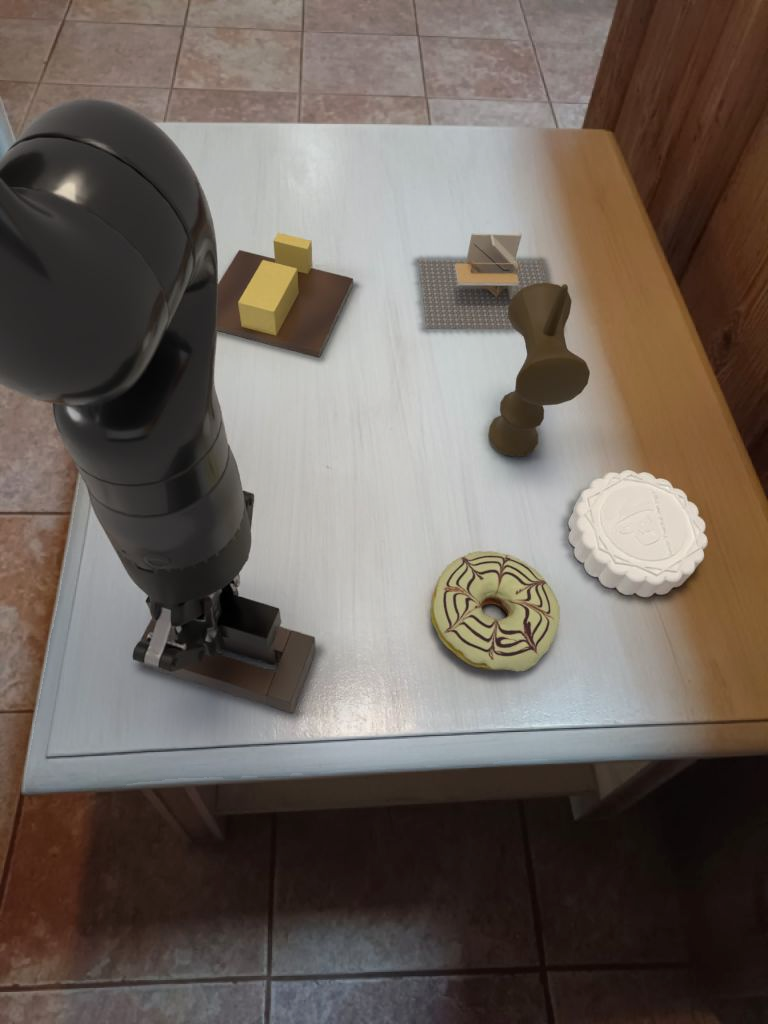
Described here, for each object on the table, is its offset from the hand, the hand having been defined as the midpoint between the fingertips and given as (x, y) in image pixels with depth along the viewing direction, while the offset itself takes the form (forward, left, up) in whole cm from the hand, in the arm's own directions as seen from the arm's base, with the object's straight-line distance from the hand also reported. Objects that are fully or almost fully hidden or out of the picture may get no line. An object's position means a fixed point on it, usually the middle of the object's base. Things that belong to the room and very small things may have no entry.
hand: (217, 627), depth 54 cm
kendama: (+18, +30, -7) cm, 36 cm away
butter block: (-11, +38, -6) cm, 40 cm away
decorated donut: (+20, +10, -7) cm, 24 cm away
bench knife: (0, 0, -4) cm, 4 cm away
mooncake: (+31, +22, -7) cm, 39 cm away
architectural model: (+11, +50, -7) cm, 52 cm away
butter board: (-11, +40, -7) cm, 42 cm away
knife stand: (0, 0, -7) cm, 7 cm away
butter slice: (-11, +46, -6) cm, 47 cm away
